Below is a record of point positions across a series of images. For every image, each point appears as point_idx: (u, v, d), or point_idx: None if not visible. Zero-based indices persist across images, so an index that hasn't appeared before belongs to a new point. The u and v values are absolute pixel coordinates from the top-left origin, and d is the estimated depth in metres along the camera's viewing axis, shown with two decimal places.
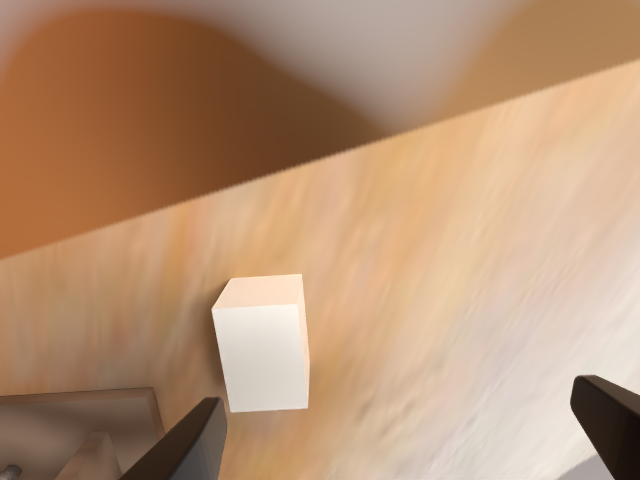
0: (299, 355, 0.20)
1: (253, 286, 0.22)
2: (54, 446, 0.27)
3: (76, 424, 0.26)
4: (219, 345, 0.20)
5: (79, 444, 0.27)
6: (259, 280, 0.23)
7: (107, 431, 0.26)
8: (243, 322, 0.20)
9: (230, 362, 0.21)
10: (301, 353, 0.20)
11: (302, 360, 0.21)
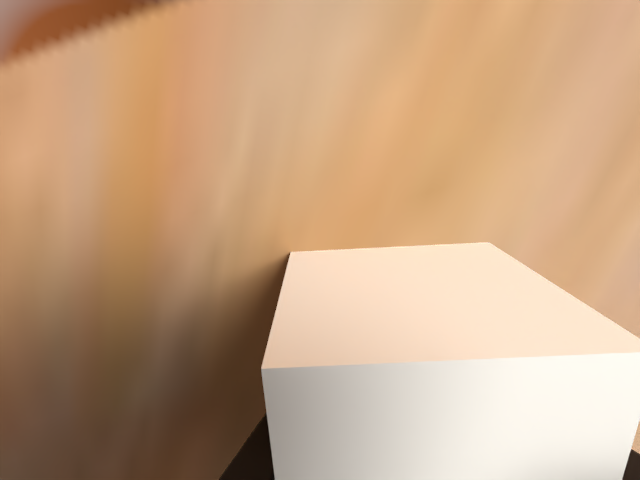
0: None
1: (375, 275, 0.07)
2: None
3: None
4: None
5: None
6: (380, 258, 0.08)
7: None
8: (396, 426, 0.05)
9: None
10: None
11: None
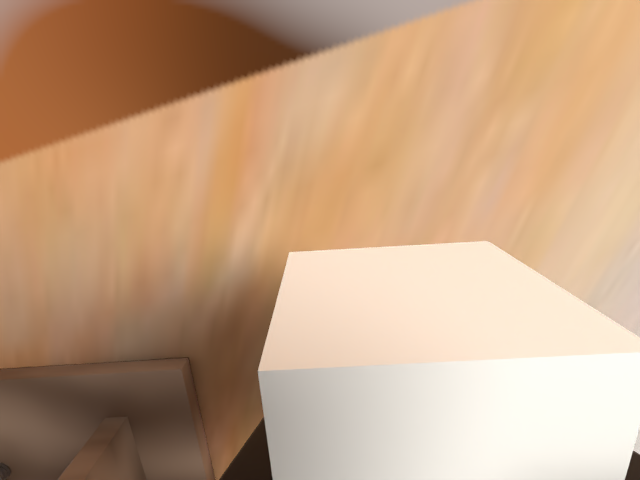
0: None
1: (373, 275, 0.07)
2: (54, 438, 0.20)
3: (84, 407, 0.19)
4: None
5: (88, 435, 0.20)
6: (379, 259, 0.08)
7: (127, 417, 0.19)
8: (394, 428, 0.05)
9: None
10: None
11: None
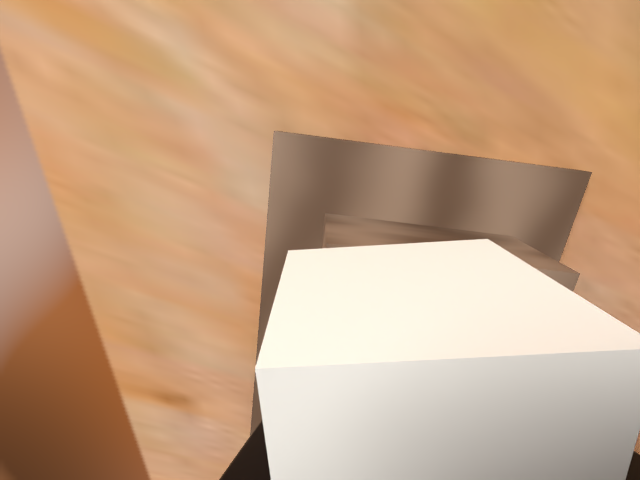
0: None
1: (372, 273, 0.07)
2: None
3: None
4: None
5: None
6: (378, 257, 0.08)
7: (326, 213, 0.18)
8: (393, 426, 0.04)
9: None
10: None
11: None
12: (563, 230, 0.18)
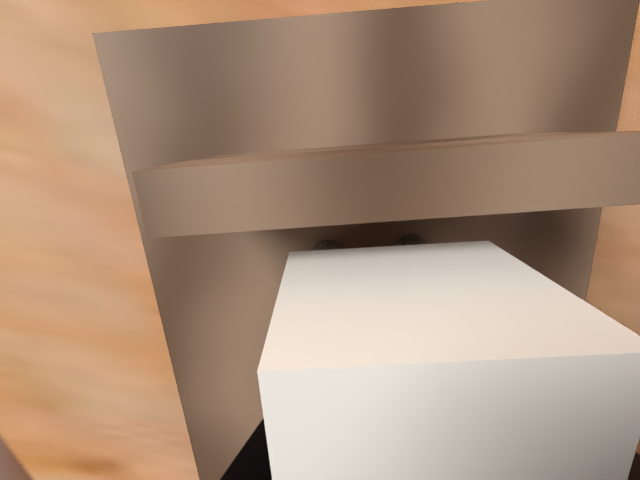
0: None
1: (373, 275, 0.07)
2: (269, 283, 0.12)
3: None
4: None
5: (260, 230, 0.12)
6: (379, 258, 0.08)
7: (215, 156, 0.11)
8: (394, 429, 0.04)
9: None
10: None
11: None
12: (608, 105, 0.11)
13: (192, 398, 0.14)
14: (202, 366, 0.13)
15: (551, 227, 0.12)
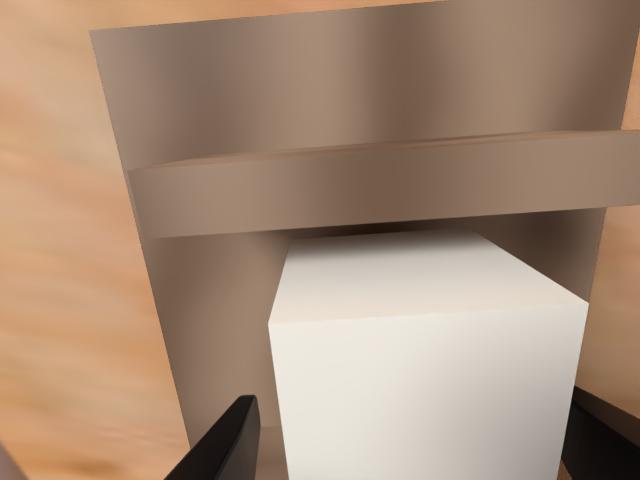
0: (546, 472, 0.06)
1: (365, 256, 0.08)
2: (268, 284, 0.12)
3: None
4: (285, 441, 0.06)
5: (260, 230, 0.12)
6: (370, 243, 0.09)
7: (213, 155, 0.11)
8: (378, 371, 0.06)
9: None
10: (554, 465, 0.06)
11: None
12: (613, 103, 0.10)
13: (191, 400, 0.14)
14: (201, 368, 0.13)
15: (554, 227, 0.12)
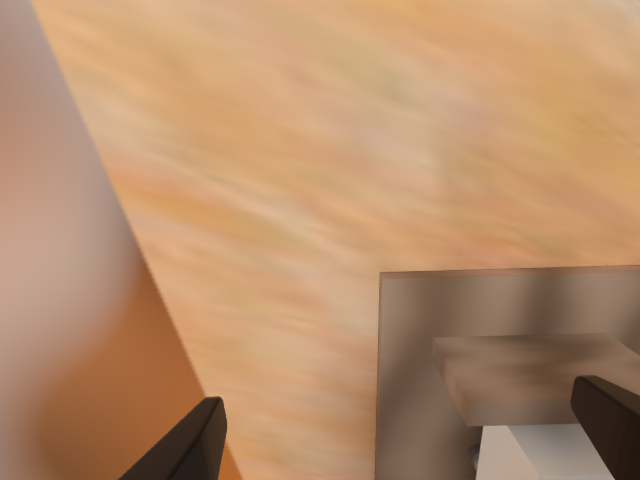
0: None
1: None
2: (448, 402, 0.21)
3: (417, 370, 0.20)
4: None
5: None
6: None
7: (433, 337, 0.20)
8: None
9: None
10: None
11: None
12: None
13: (385, 463, 0.22)
14: (396, 445, 0.22)
15: None
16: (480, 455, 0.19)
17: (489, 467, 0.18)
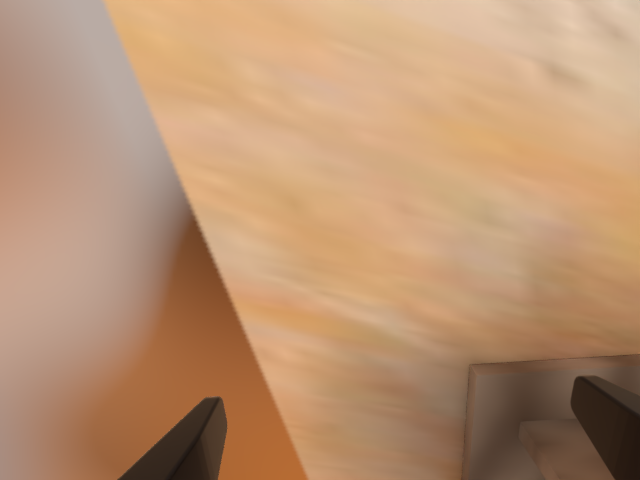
0: None
1: None
2: (532, 475, 0.23)
3: (504, 449, 0.22)
4: None
5: None
6: None
7: (521, 421, 0.21)
8: None
9: None
10: None
11: None
12: None
13: None
14: None
15: None
16: None
17: None
